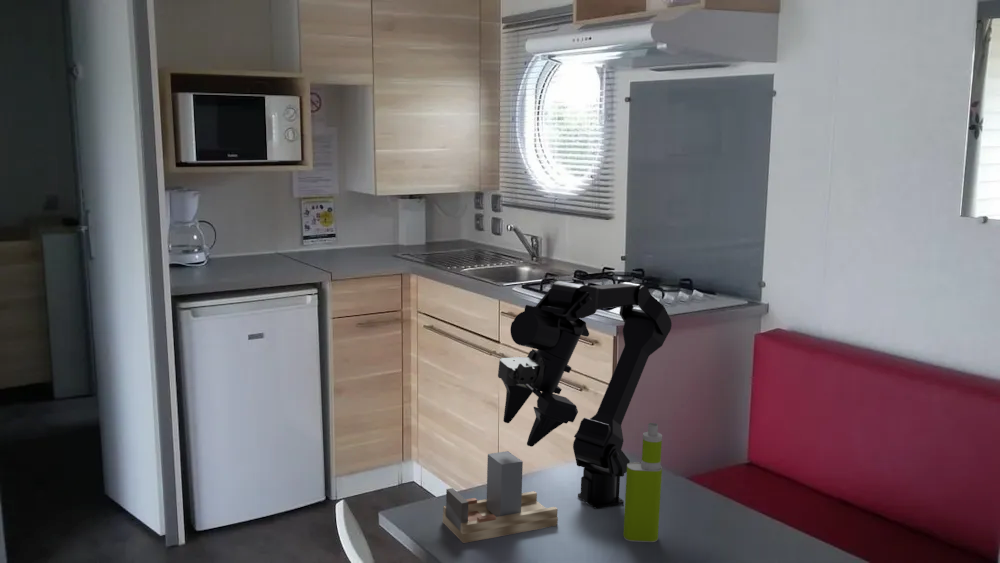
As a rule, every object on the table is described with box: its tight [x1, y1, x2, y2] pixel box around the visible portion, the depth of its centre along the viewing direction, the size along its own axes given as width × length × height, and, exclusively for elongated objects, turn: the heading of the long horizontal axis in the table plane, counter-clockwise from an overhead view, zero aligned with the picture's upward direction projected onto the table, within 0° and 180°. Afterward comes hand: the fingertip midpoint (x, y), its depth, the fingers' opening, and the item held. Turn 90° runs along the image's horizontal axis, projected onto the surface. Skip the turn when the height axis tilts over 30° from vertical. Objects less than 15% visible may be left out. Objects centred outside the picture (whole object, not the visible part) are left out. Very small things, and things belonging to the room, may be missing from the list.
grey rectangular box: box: [486, 450, 524, 517], centre depth 153 cm, size 4×6×10 cm
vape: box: [623, 422, 663, 543], centre depth 149 cm, size 4×6×20 cm, turn 88°
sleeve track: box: [442, 487, 559, 544], centre depth 153 cm, size 18×9×6 cm, turn 116°
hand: (517, 433), depth 153 cm, fingers open, 9 cm apart
